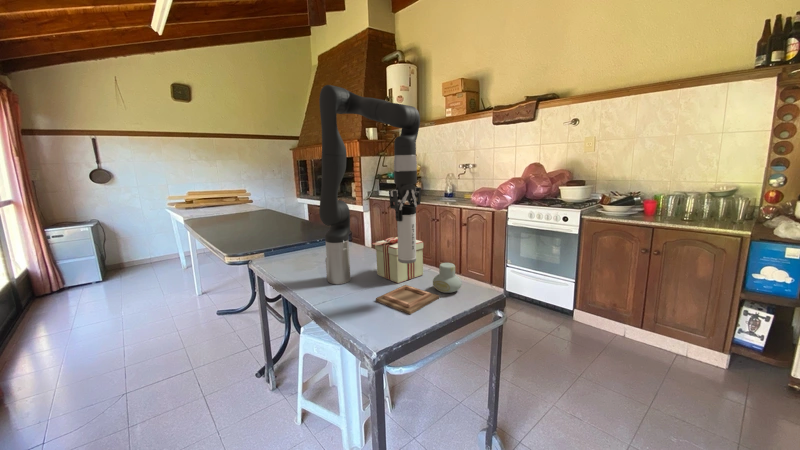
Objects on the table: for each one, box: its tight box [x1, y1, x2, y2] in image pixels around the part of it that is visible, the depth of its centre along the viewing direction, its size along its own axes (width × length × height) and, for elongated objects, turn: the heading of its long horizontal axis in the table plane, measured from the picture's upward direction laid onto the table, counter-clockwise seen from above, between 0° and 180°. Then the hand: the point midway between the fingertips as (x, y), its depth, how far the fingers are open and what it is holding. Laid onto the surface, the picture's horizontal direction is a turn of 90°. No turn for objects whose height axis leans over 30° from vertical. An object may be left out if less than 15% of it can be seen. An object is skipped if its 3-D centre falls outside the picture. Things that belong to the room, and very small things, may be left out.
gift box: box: [371, 236, 424, 284], centre depth 138 cm, size 17×18×17 cm
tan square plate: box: [375, 284, 440, 315], centre depth 115 cm, size 16×16×2 cm
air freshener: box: [432, 262, 463, 294], centre depth 122 cm, size 11×8×10 cm
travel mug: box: [396, 203, 417, 264], centre depth 110 cm, size 6×7×20 cm
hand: (406, 219), depth 109 cm, fingers closed on travel mug, 6 cm apart
